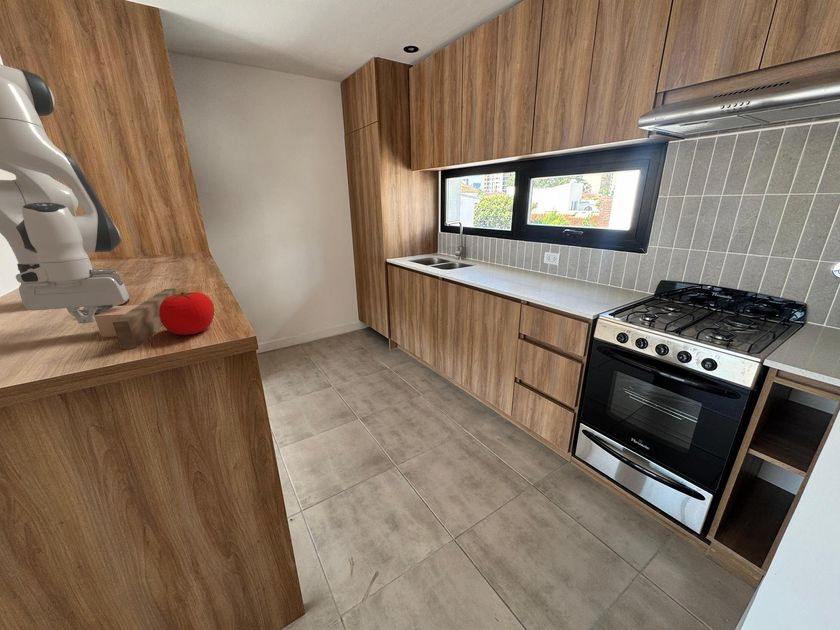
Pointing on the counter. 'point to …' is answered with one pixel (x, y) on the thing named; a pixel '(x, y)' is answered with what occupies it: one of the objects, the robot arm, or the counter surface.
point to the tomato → (186, 313)
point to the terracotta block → (111, 319)
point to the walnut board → (141, 321)
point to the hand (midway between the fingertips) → (87, 322)
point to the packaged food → (103, 307)
